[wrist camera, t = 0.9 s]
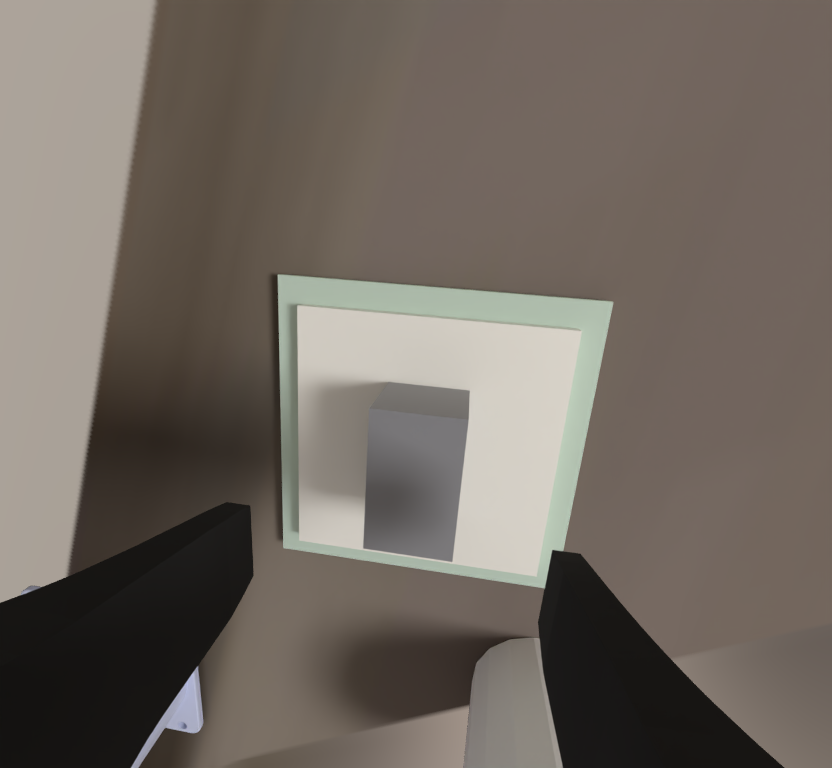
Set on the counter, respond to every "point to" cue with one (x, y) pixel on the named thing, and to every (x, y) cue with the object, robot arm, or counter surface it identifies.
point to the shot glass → (511, 710)
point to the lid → (430, 433)
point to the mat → (457, 304)
